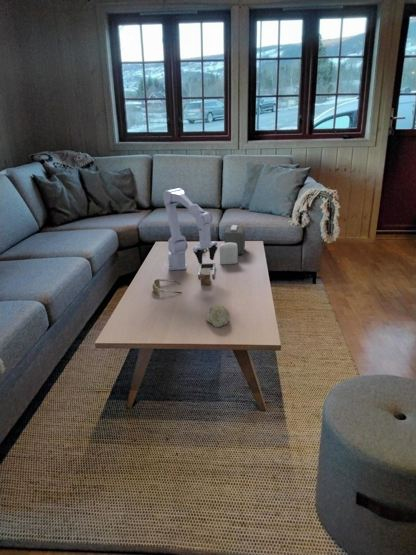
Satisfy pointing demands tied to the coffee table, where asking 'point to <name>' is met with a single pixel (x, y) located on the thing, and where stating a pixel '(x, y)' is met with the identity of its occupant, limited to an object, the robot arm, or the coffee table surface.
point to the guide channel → (207, 266)
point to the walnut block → (205, 277)
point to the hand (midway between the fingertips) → (206, 261)
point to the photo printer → (228, 253)
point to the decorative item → (217, 315)
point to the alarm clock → (235, 237)
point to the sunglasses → (157, 283)
